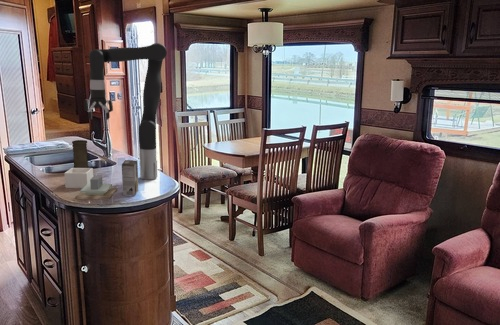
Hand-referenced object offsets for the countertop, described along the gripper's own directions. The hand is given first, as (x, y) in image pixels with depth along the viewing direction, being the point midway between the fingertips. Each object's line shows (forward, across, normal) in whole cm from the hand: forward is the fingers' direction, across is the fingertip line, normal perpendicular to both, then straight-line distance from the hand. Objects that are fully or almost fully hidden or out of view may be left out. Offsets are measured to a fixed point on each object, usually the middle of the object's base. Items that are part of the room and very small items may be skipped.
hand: (99, 119), depth 224 cm
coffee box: (+34, -20, +22) cm, 45 cm away
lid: (+33, -4, +24) cm, 41 cm away
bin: (+34, +9, +9) cm, 36 cm away
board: (+34, -4, +24) cm, 42 cm away
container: (+34, +18, -22) cm, 45 cm away
